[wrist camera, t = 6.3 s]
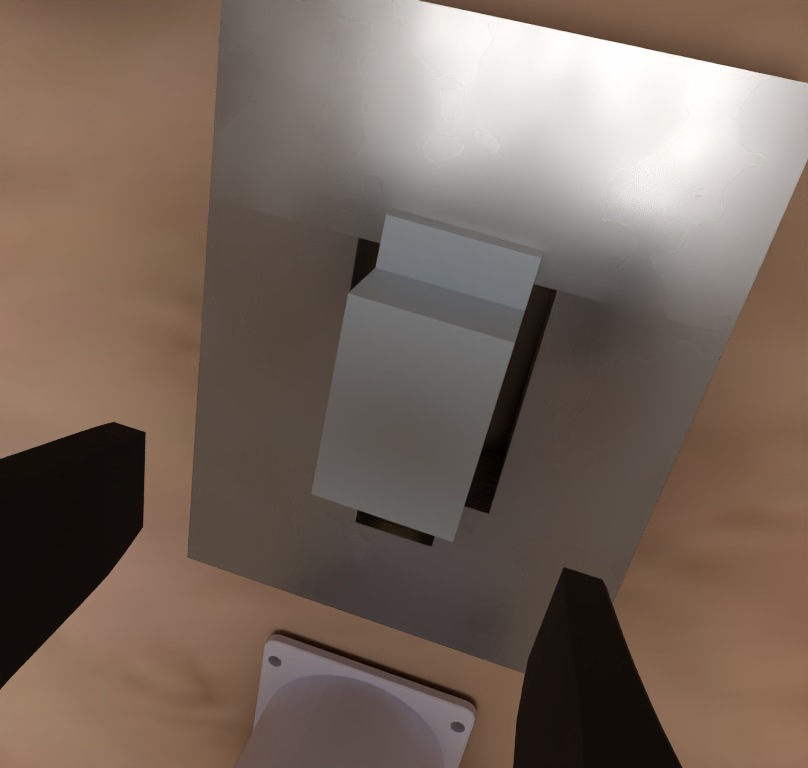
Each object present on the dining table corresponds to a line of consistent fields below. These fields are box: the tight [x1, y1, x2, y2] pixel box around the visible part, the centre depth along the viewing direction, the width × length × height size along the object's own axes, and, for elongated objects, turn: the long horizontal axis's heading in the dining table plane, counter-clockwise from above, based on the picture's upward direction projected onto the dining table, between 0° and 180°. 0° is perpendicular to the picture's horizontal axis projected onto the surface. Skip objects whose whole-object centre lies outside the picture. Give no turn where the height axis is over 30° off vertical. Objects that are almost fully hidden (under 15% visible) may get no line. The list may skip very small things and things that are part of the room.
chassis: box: [187, 0, 808, 673], centre depth 19 cm, size 16×12×3 cm
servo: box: [311, 209, 544, 542], centre depth 18 cm, size 8×3×6 cm, turn 168°
